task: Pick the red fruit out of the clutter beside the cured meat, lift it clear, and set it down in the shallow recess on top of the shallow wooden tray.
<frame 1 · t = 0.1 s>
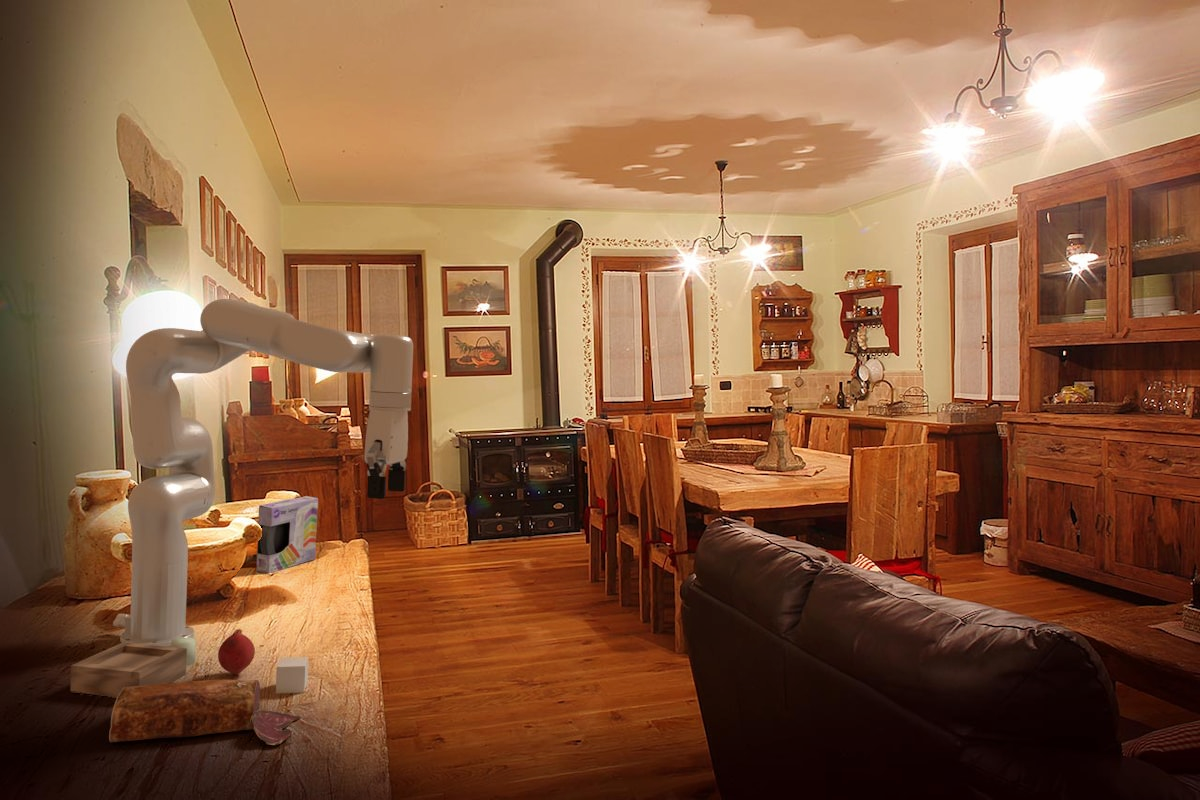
hand: (386, 494, 155), 31 cm above the table, tool pointing down, fingers open, 9 cm apart
grey ceramic cube: (291, 688, 141), on the table
shallow wooden tray: (130, 683, 140), on the table
cake pan box: (285, 567, 224), on the table
red fruit: (235, 675, 146), on the table
sage painted capsule: (182, 662, 150), on the table
cured meat: (211, 731, 125), on the table
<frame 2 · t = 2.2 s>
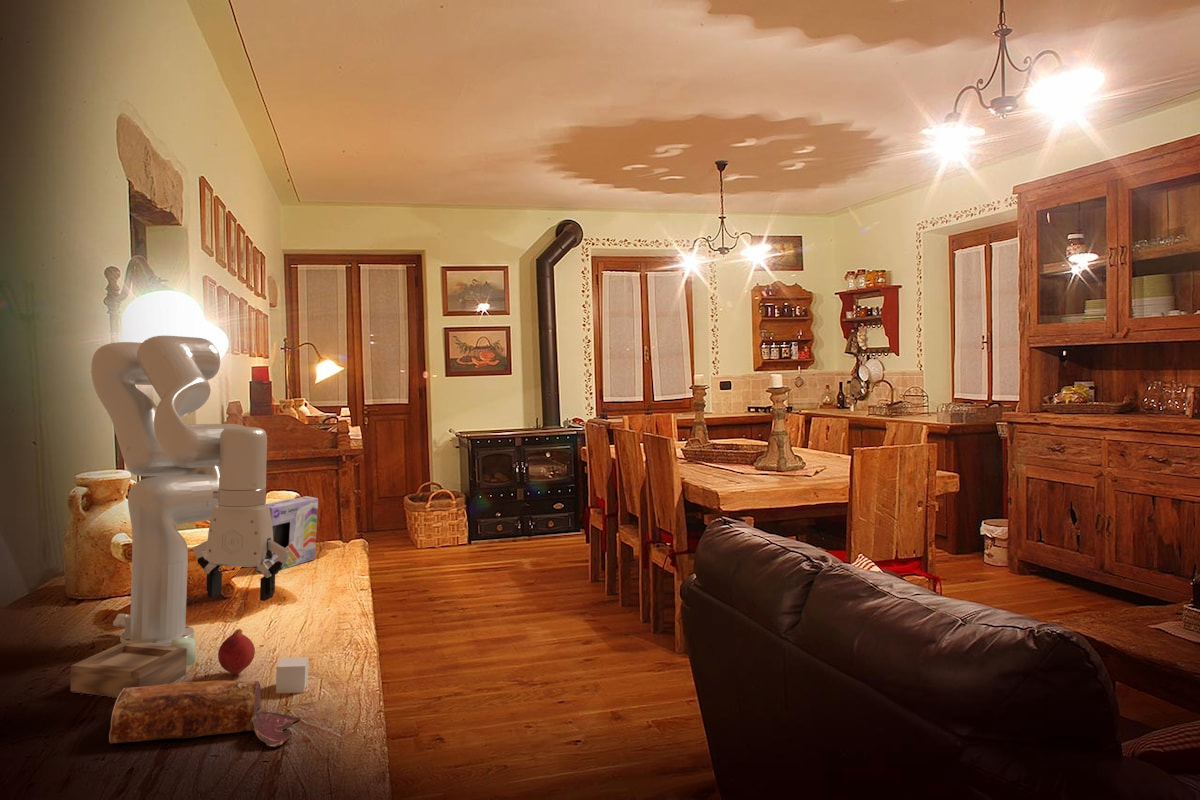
hand: (240, 597, 145), 14 cm above the table, tool pointing down, fingers open, 9 cm apart
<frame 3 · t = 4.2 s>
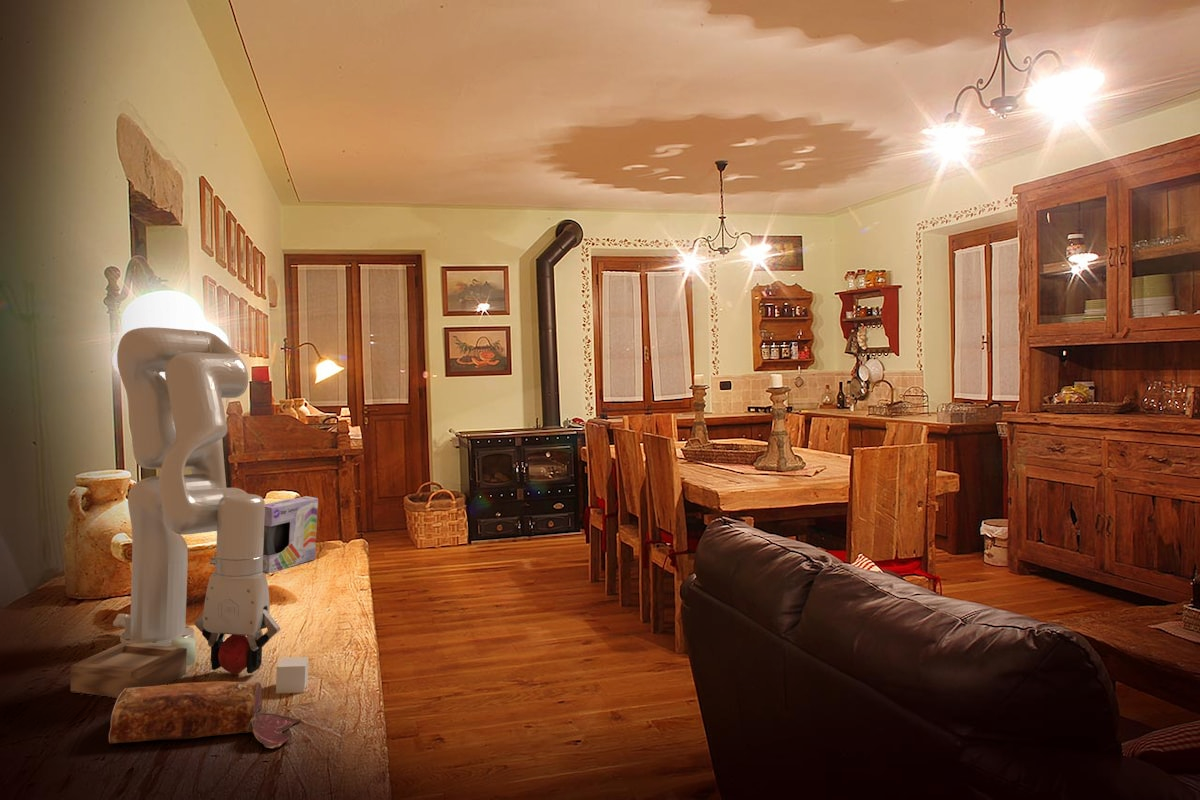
hand: (235, 668, 146), 1 cm above the table, tool pointing down, fingers closed on red fruit, 5 cm apart
red fruit: (235, 675, 146), on the table, touching gripper
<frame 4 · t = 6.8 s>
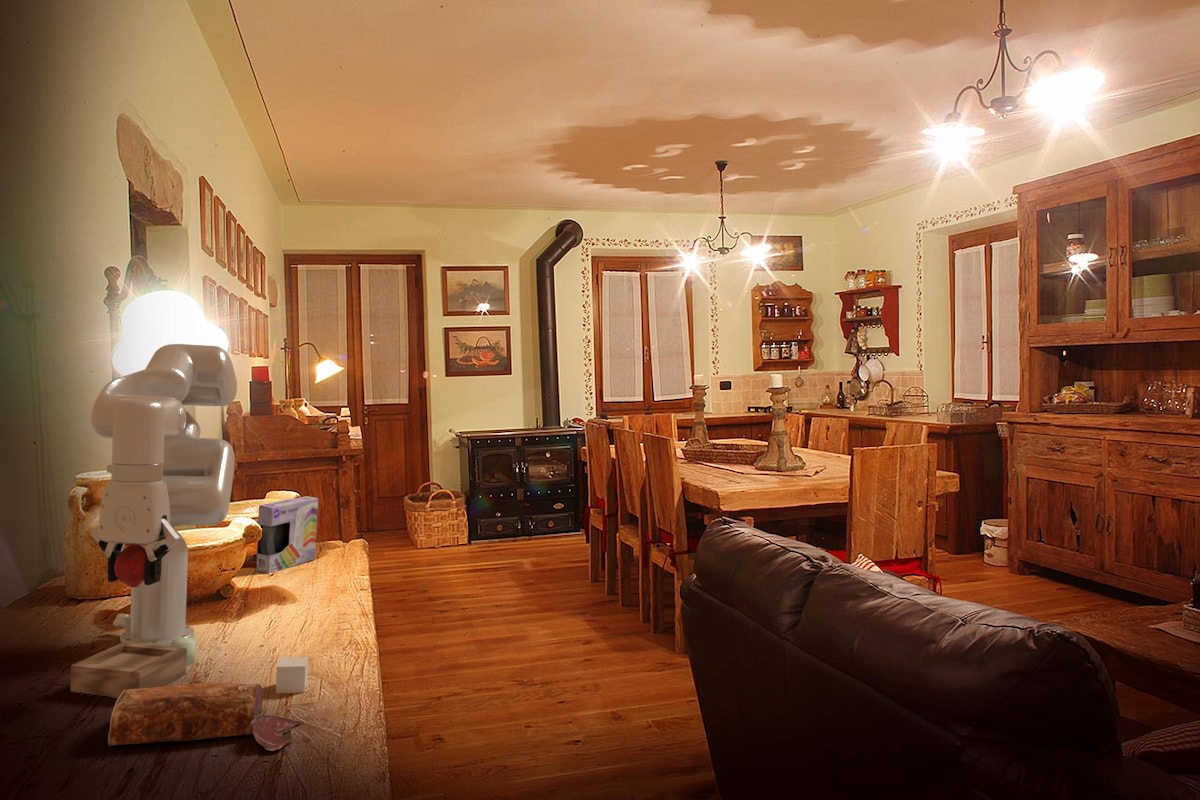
hand: (134, 580, 139), 17 cm above the table, tool pointing down, fingers closed on red fruit, 5 cm apart
red fruit: (133, 588, 139), point 16 cm above the table, touching gripper
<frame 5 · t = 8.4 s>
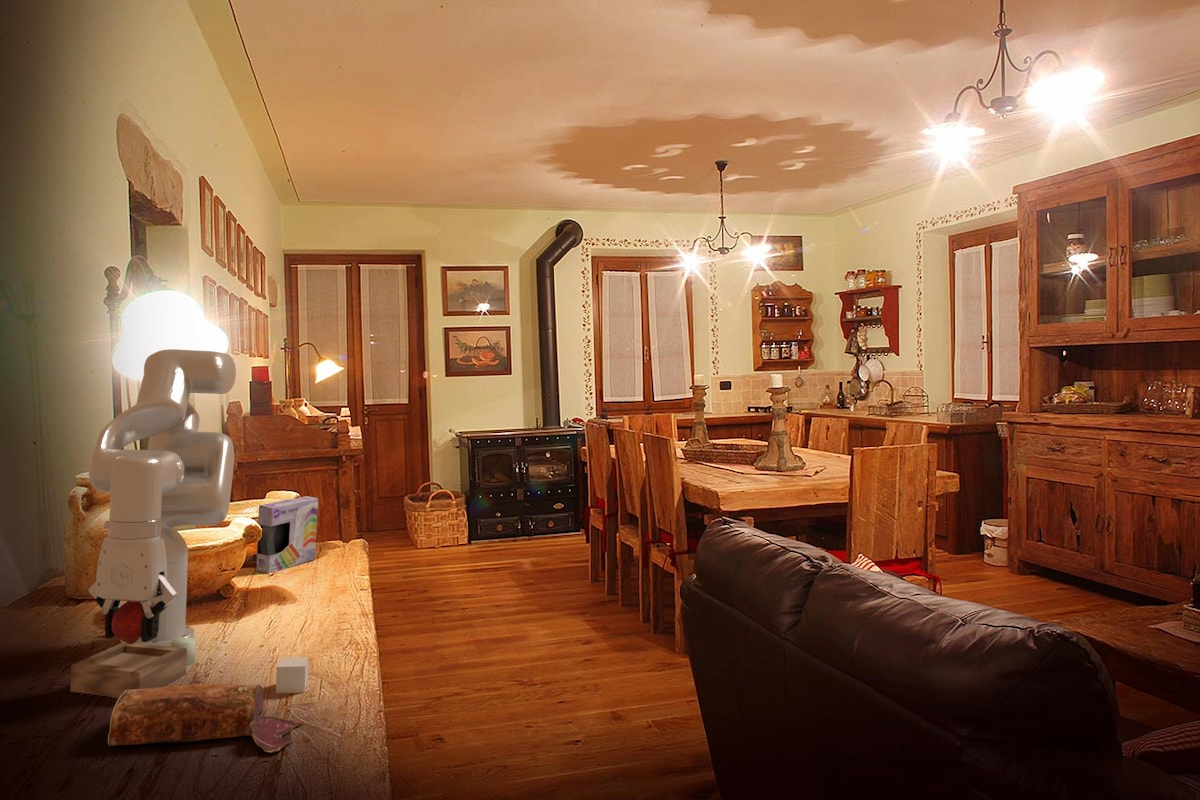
hand: (131, 636, 139), 8 cm above the table, tool pointing down, fingers closed on red fruit, 5 cm apart
red fruit: (130, 645, 139), point 7 cm above the table, touching gripper
when the fingers open (6 cm above the table, at t = 9.6 s): red fruit drops 1 cm, resting on shallow wooden tray.
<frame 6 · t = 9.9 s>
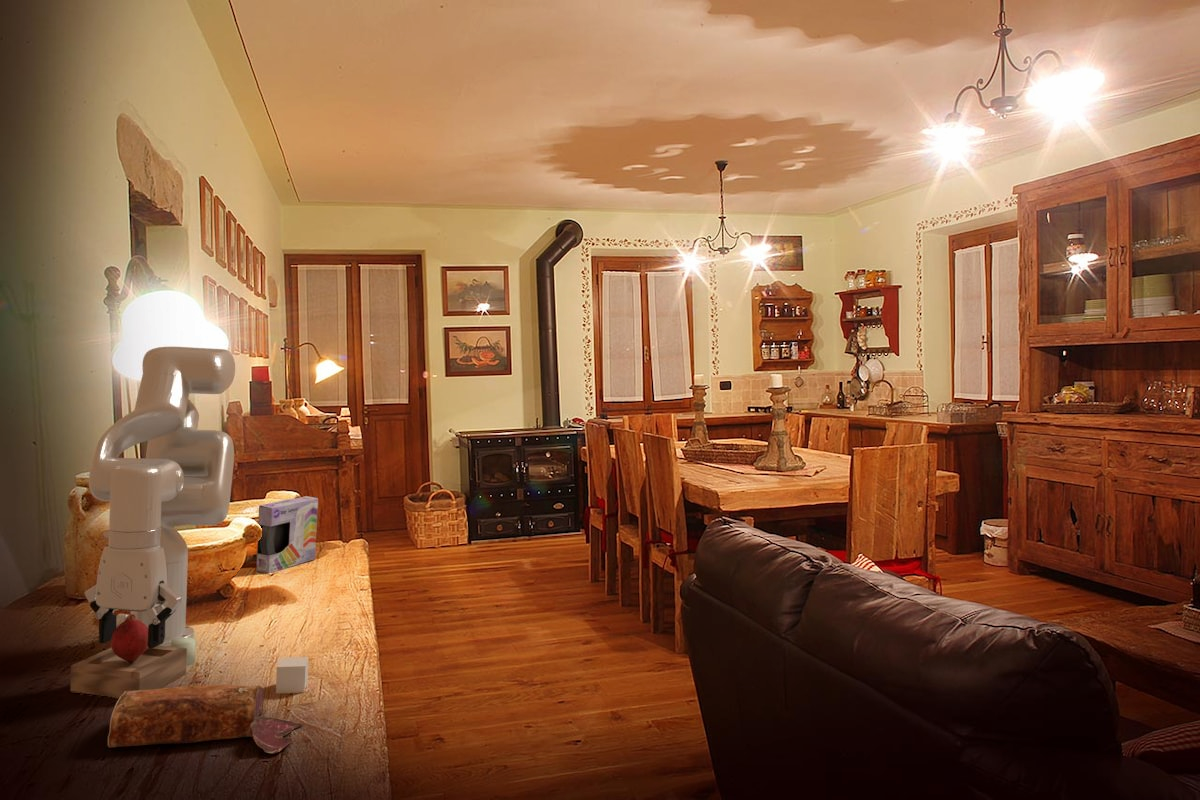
hand: (131, 642, 139), 7 cm above the table, tool pointing down, fingers open, 8 cm apart
red fruit: (131, 663, 140), point 3 cm above the table, touching shallow wooden tray
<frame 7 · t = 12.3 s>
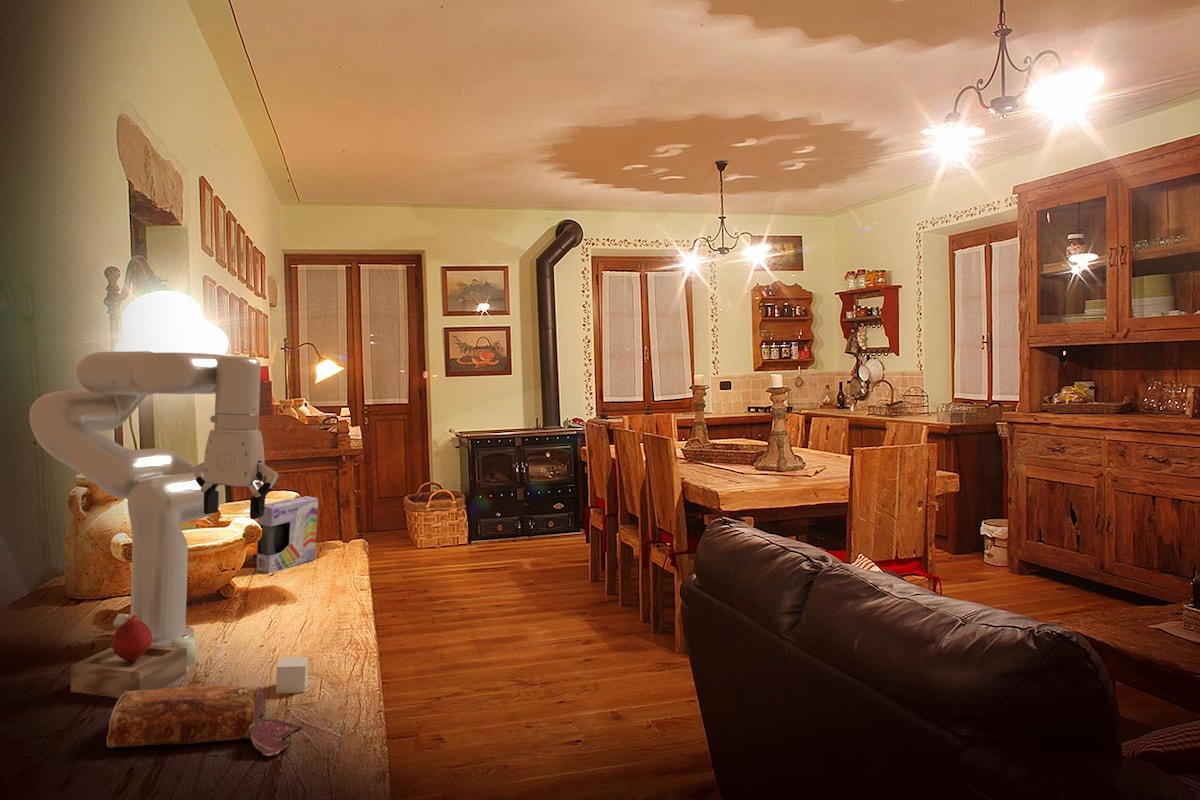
hand: (233, 515, 155), 26 cm above the table, tool pointing down, fingers open, 9 cm apart
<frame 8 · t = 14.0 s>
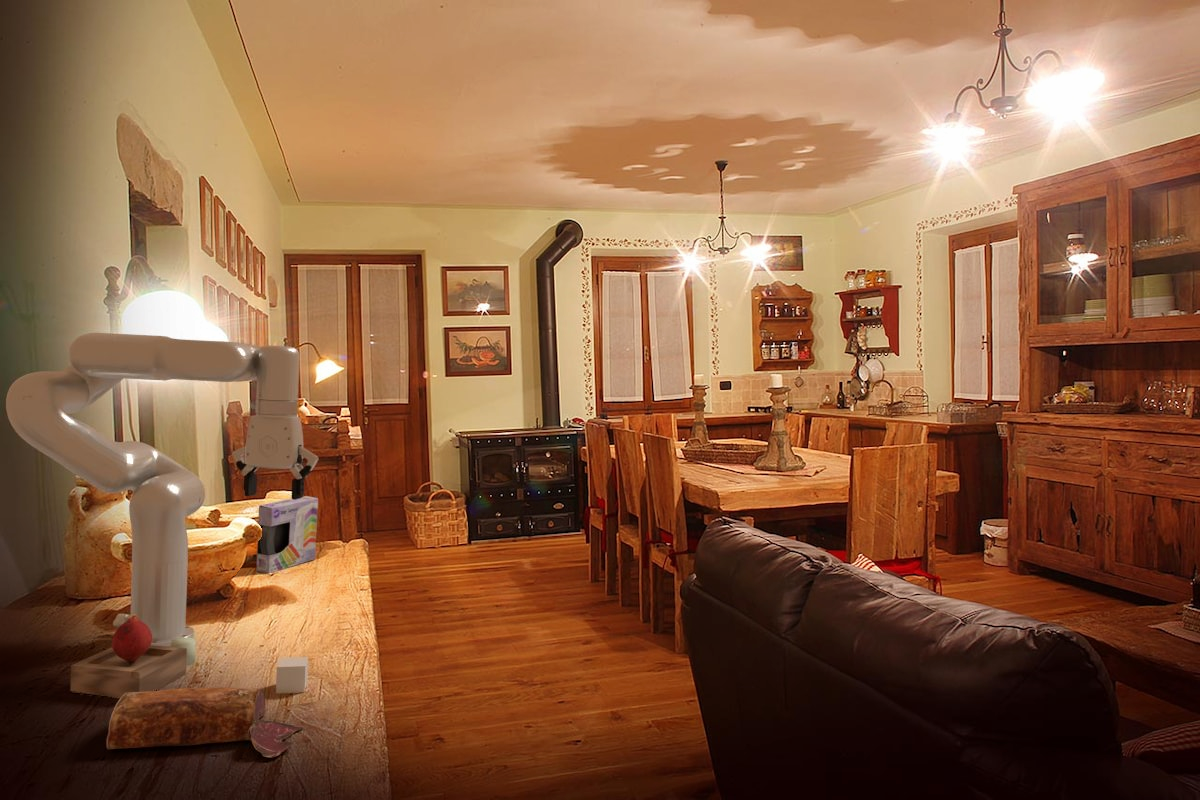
hand: (273, 496, 163), 28 cm above the table, tool pointing down, fingers open, 9 cm apart
at the end: red fruit inside the target area on the shallow wooden tray (0.1 cm from its centre), point 3.3 cm above the shallow wooden tray's base; the gripper is holding nothing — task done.
